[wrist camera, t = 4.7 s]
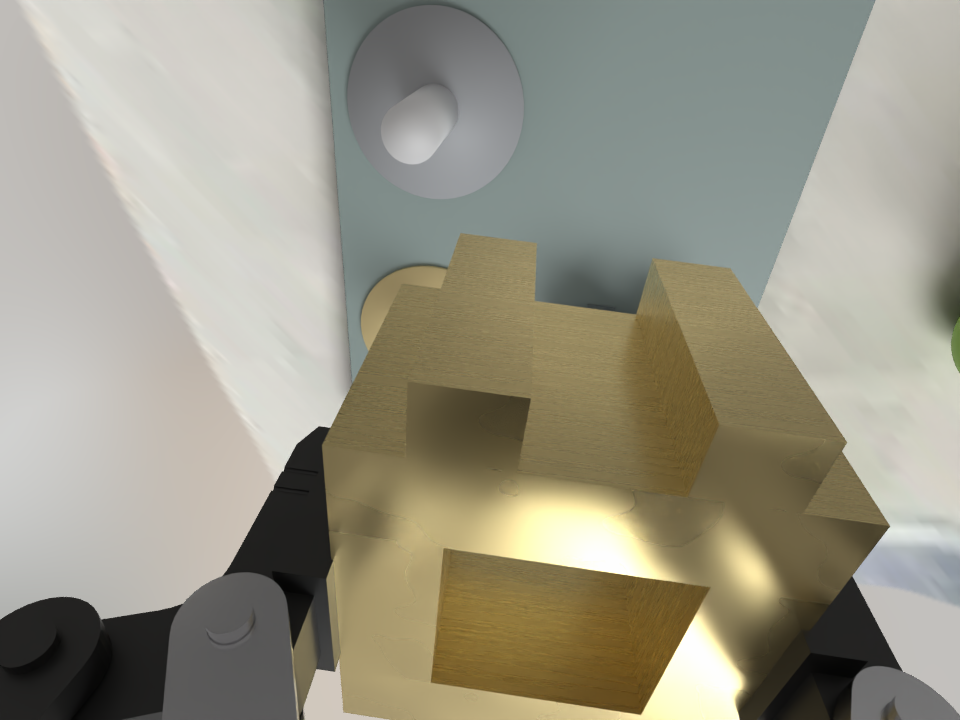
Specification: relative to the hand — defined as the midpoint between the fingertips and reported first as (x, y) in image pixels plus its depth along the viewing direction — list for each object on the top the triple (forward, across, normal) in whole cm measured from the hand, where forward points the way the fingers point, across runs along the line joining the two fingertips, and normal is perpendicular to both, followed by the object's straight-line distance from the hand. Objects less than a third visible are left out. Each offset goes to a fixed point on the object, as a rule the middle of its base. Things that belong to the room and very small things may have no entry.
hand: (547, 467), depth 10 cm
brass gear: (+1, 0, 0) cm, 1 cm away
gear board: (+16, 0, +2) cm, 16 cm away
